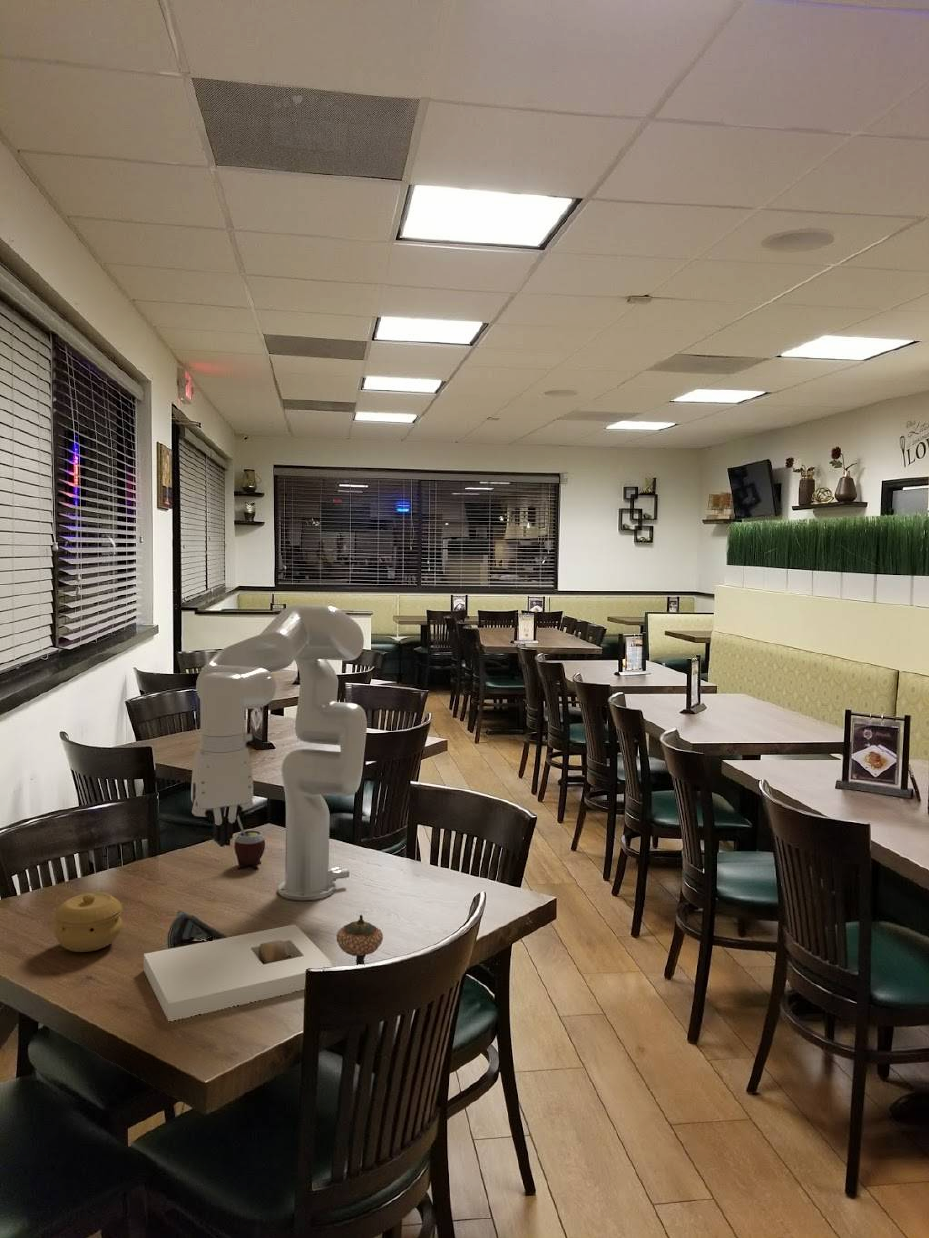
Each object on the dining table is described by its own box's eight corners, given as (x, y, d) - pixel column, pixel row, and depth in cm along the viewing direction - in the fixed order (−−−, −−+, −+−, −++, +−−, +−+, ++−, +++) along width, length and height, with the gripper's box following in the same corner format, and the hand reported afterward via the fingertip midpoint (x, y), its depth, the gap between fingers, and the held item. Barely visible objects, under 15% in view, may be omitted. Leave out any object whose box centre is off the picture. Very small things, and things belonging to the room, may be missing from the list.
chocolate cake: (243, 940, 171) (203, 893, 173) (235, 945, 164) (194, 896, 166) (204, 976, 169) (164, 928, 171) (195, 983, 162) (153, 932, 164)
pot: (73, 932, 172) (72, 881, 171) (132, 934, 171) (132, 883, 171) (42, 958, 160) (42, 904, 159) (106, 961, 160) (106, 907, 159)
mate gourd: (270, 866, 211) (271, 804, 210) (242, 874, 205) (243, 811, 204) (252, 859, 216) (252, 798, 215) (224, 866, 210) (224, 804, 209)
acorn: (327, 973, 157) (328, 918, 156) (351, 954, 164) (352, 902, 164) (367, 983, 154) (368, 927, 153) (390, 963, 161) (391, 910, 161)
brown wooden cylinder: (258, 967, 159) (277, 963, 161) (266, 977, 155) (286, 973, 156) (258, 939, 159) (277, 936, 161) (266, 949, 154) (286, 945, 156)
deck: (295, 939, 171) (295, 924, 170) (334, 982, 153) (334, 965, 153) (143, 970, 156) (143, 953, 156) (168, 1022, 139) (168, 1003, 139)
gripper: (256, 734, 163) (256, 831, 164) (174, 742, 155) (174, 844, 156) (270, 742, 157) (270, 843, 158) (185, 751, 148) (186, 857, 150)
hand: (223, 843), depth 157 cm, fingers closed
